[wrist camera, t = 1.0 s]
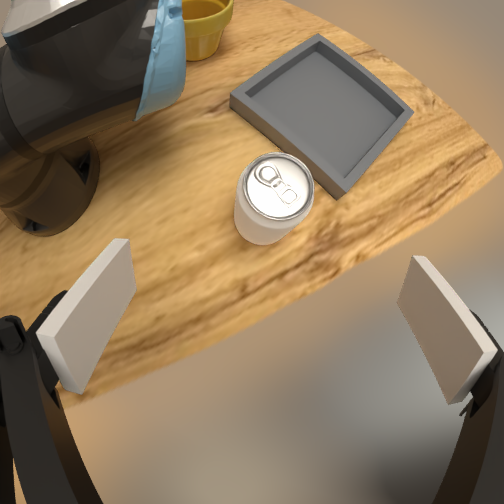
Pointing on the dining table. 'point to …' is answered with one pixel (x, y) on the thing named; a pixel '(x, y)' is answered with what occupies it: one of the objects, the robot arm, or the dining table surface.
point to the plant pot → (204, 26)
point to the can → (272, 197)
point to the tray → (322, 111)
